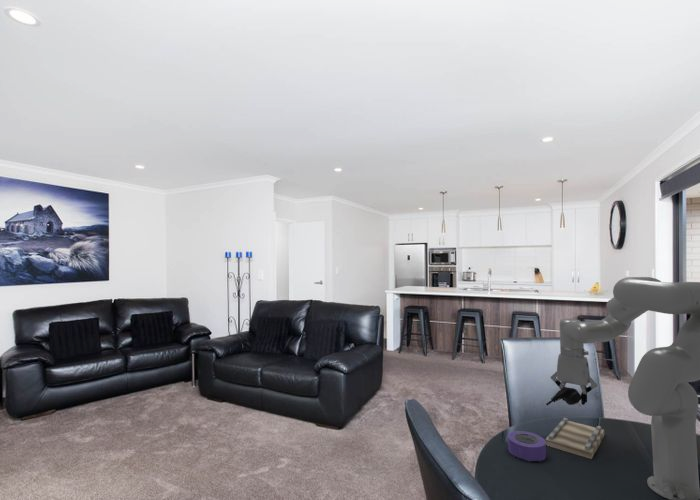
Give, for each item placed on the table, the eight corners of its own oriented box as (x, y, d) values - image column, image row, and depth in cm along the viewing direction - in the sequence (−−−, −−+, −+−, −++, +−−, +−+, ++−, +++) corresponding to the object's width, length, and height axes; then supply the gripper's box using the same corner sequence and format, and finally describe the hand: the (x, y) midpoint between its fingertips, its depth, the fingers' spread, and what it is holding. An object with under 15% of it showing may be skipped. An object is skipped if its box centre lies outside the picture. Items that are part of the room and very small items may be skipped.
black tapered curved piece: (541, 400, 135) (567, 381, 135) (554, 417, 134) (580, 398, 134) (548, 405, 130) (576, 386, 129) (562, 423, 129) (589, 404, 129)
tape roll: (536, 466, 115) (536, 450, 116) (501, 452, 124) (501, 437, 125) (552, 454, 123) (551, 439, 123) (518, 442, 132) (517, 427, 132)
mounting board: (591, 459, 119) (591, 449, 119) (545, 445, 129) (545, 436, 129) (604, 435, 136) (604, 426, 137) (562, 424, 146) (562, 416, 146)
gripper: (601, 354, 131) (603, 404, 130) (549, 347, 143) (551, 393, 142) (597, 358, 126) (599, 410, 125) (544, 350, 138) (545, 398, 137)
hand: (573, 401), depth 134 cm, fingers closed on black tapered curved piece, 5 cm apart
